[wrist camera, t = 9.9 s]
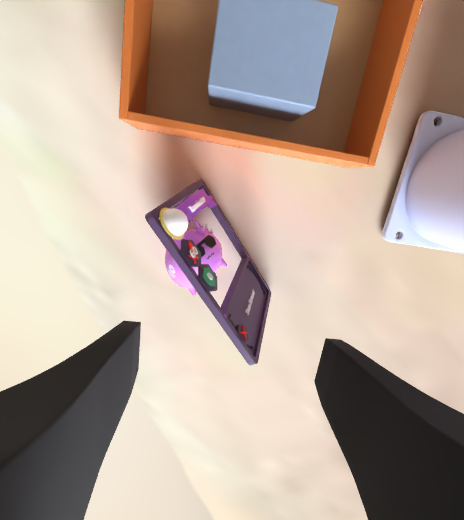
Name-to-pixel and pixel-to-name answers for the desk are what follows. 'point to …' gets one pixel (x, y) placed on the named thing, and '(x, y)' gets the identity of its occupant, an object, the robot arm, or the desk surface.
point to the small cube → (270, 55)
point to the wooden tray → (257, 126)
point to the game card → (212, 267)
